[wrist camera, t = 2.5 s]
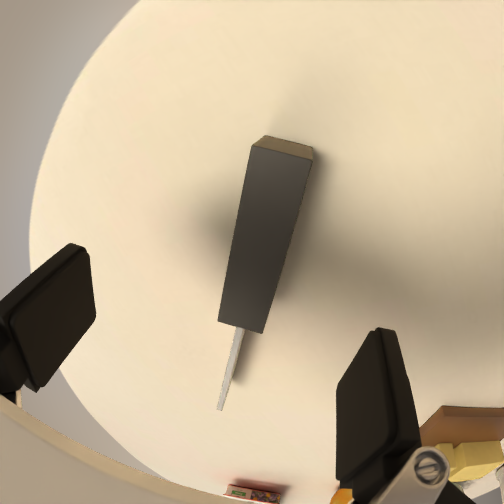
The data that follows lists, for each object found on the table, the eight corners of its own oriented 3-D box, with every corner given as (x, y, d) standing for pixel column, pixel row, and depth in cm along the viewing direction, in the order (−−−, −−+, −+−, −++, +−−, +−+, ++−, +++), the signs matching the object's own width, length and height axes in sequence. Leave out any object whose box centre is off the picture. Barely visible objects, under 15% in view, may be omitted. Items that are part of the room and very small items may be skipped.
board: (442, 405, 21) (444, 416, 20) (525, 407, 20) (528, 415, 19) (371, 468, 28) (371, 476, 27) (455, 467, 27) (456, 474, 26)
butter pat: (438, 442, 22) (442, 468, 20) (452, 442, 22) (457, 467, 20) (415, 461, 25) (417, 485, 22) (428, 461, 24) (431, 484, 22)
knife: (264, 135, 15) (251, 144, 12) (312, 147, 14) (313, 160, 11) (214, 374, 23) (202, 408, 20) (244, 382, 23) (234, 418, 20)
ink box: (229, 498, 41) (227, 473, 34) (274, 506, 40) (286, 483, 33) (224, 515, 38) (220, 495, 31) (270, 524, 37) (281, 506, 30)
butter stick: (461, 442, 22) (466, 466, 19) (499, 439, 22) (504, 461, 19) (437, 460, 24) (440, 483, 22) (476, 458, 24) (480, 478, 21)
